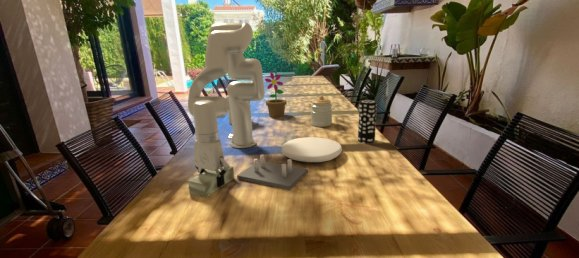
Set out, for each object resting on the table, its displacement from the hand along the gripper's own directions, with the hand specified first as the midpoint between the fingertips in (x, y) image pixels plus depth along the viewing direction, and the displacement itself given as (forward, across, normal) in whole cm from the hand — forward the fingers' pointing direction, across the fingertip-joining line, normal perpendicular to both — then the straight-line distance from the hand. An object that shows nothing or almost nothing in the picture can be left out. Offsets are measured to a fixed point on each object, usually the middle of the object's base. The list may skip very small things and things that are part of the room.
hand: (212, 183), depth 109 cm
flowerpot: (+1, -29, +100) cm, 104 cm away
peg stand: (+1, +16, +16) cm, 23 cm away
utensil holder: (+1, -43, +77) cm, 88 cm away
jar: (+1, +7, +91) cm, 91 cm away
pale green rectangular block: (+1, 0, 0) cm, 1 cm away
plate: (+1, +21, +42) cm, 47 cm away
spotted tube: (+1, +39, +70) cm, 80 cm away
